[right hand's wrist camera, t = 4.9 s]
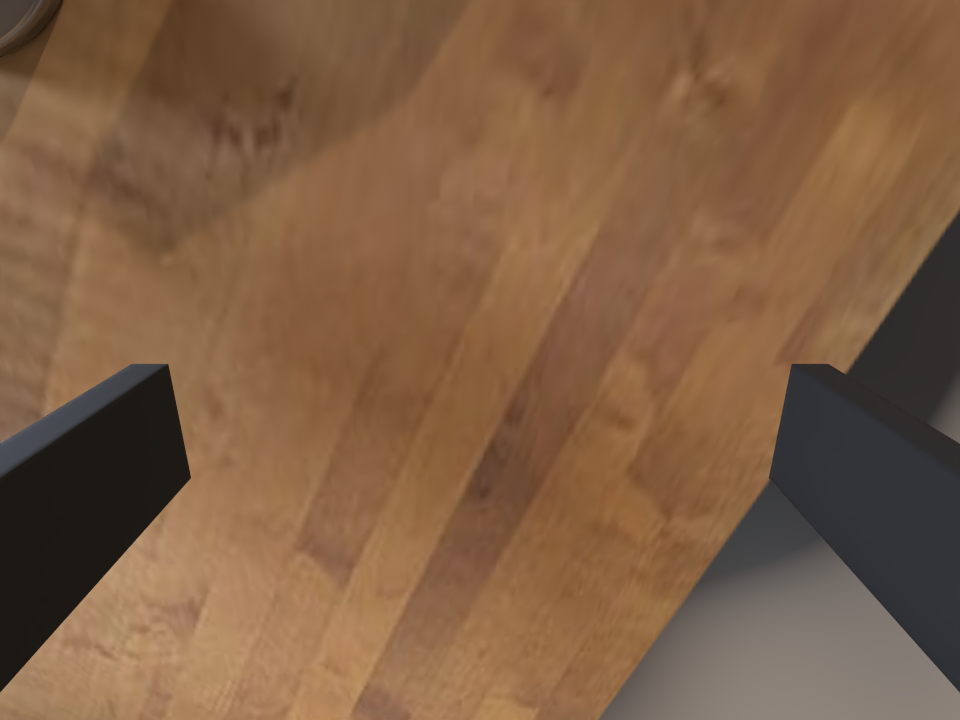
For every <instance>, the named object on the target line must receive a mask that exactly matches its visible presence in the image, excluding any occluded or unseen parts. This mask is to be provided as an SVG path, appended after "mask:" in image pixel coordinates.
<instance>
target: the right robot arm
mask: <svg viewBox="0 0 960 720" xmlns="http://www.w3.org/2000/svg"><path fill="white" fill-rule="evenodd" d="M60 1H61V0H0V56H2V55H5V54H7V53H10V52H12V51H14V50H16V49H18V48H20V47H22V46H23V45H25V44H26V43H27V42H29V41H30V40H32V39H33V38H34V37H35V36H36V35H37V34H38V33H39V32H40V31H41V30H42V29H43V28H44V27H45V26H46V24H47V23H48V22H49V21H50V19H51V18H52V16H53V14H54V13H55V11H56V10H57V8H58V6H59V3H60ZM190 478H191V476H190V471H189V466H188V461H187V456H186V451H185V446H184V441H183V436H182V431H181V426H180V421H179V416H178V411H177V406H176V401H175V396H174V391H173V386H172V381H171V376H170V371H169V366H168V364H131V365H129V366H128V367H126V368H124V369H123V370H121V371H120V372H118V373H116V374H115V375H113V376H111V377H110V378H108V379H106V380H105V381H103V382H101V383H100V384H98V385H96V386H95V387H93V388H91V389H90V390H88V391H87V392H85V393H83V394H82V395H80V396H78V397H77V398H75V399H73V400H72V401H70V402H68V403H67V404H65V405H63V406H62V407H60V408H58V409H57V410H55V411H54V412H52V413H50V414H49V415H47V416H45V417H44V418H42V419H40V420H39V421H37V422H35V423H34V424H32V425H30V426H29V427H27V428H26V429H24V430H22V431H21V432H19V433H17V434H16V435H14V436H12V437H11V438H9V439H7V440H6V441H4V442H2V443H1V444H0V692H1V691H2V690H3V689H4V687H5V686H6V685H7V684H8V683H9V682H10V681H11V680H12V678H13V677H14V676H15V675H16V674H17V673H18V672H19V671H20V669H21V668H22V667H23V666H24V665H25V664H26V663H27V662H28V660H29V659H30V658H31V657H32V656H33V655H34V654H35V653H36V652H37V650H38V649H39V648H40V647H41V646H42V645H43V644H44V643H45V641H46V640H47V639H48V638H49V637H50V636H51V635H52V634H53V632H54V631H55V630H56V629H57V628H58V627H59V626H60V625H61V623H62V622H63V621H64V620H65V619H66V618H67V617H68V616H69V614H70V613H71V612H72V611H73V610H74V609H75V608H76V607H77V605H78V604H79V603H80V602H81V601H82V600H83V599H84V598H85V596H86V595H87V594H88V593H89V592H90V591H91V590H92V589H93V587H94V586H95V585H96V584H97V583H98V582H99V581H100V580H101V578H102V577H103V576H104V575H105V574H106V573H107V572H108V571H109V569H110V568H111V567H112V566H113V565H114V564H115V563H116V562H117V560H118V559H119V558H120V557H121V556H122V555H123V554H124V553H125V551H126V550H127V549H128V548H129V547H130V546H131V545H132V544H133V542H134V541H135V540H136V539H137V538H138V537H139V536H140V535H141V533H142V532H143V531H144V530H145V529H146V528H147V527H148V526H149V524H150V523H151V522H152V521H153V520H154V519H155V518H156V517H157V515H158V514H159V513H160V512H161V511H162V510H163V509H164V508H165V506H166V505H167V504H168V503H169V502H170V501H171V500H172V499H173V497H174V496H175V495H176V494H177V493H178V492H179V491H180V490H181V488H182V487H183V486H184V485H185V484H186V483H187V482H188V481H189V479H190ZM769 478H770V479H771V481H772V482H773V483H774V484H775V485H776V486H777V487H778V488H779V490H780V491H781V492H782V493H783V494H784V495H785V496H786V497H787V499H788V500H789V501H790V502H791V503H792V504H793V505H794V506H795V508H796V509H797V510H798V511H799V512H800V513H801V514H802V515H803V517H804V518H805V519H806V520H807V521H808V522H809V523H810V524H811V525H812V527H813V528H814V529H815V530H816V531H817V532H818V533H819V535H820V536H821V537H822V538H823V539H824V540H825V541H826V542H827V544H828V545H829V546H830V547H831V548H832V549H833V550H834V551H835V553H836V554H837V555H838V556H839V557H840V558H841V559H842V560H843V562H844V563H845V564H846V565H847V566H848V567H849V568H850V569H851V570H852V572H853V573H854V574H855V575H856V576H857V577H858V578H859V580H860V581H861V582H862V583H863V584H864V585H865V586H866V587H867V589H868V590H869V591H870V592H871V593H872V594H873V595H874V596H875V598H876V599H877V600H878V601H879V602H880V603H881V604H882V605H883V607H884V608H885V609H886V610H887V611H888V612H889V613H890V614H891V616H892V617H893V618H894V619H895V620H896V621H897V622H898V623H899V625H900V626H901V627H902V628H903V629H904V630H905V631H906V632H907V634H908V635H909V636H910V637H911V638H912V639H913V640H914V641H915V642H916V644H917V645H918V646H919V647H920V648H921V649H922V650H923V651H924V653H925V654H926V655H927V656H928V657H929V658H930V659H931V660H932V662H933V663H934V664H935V665H936V666H937V667H938V668H939V669H940V671H941V672H942V673H943V674H944V675H945V676H946V677H947V678H948V679H949V681H950V682H951V683H952V684H953V685H954V686H955V687H956V689H957V690H958V691H959V692H960V444H959V443H958V442H956V441H954V440H953V439H951V438H949V437H948V436H946V435H944V434H943V433H941V432H939V431H938V430H936V429H934V428H933V427H931V426H930V425H928V424H926V423H925V422H923V421H921V420H920V419H918V418H916V417H915V416H913V415H911V414H910V413H908V412H906V411H905V410H903V409H901V408H900V407H898V406H897V405H895V404H893V403H892V402H890V401H888V400H887V399H885V398H883V397H882V396H880V395H878V394H877V393H875V392H873V391H872V390H870V389H868V388H867V387H865V386H864V385H862V384H860V383H859V382H857V381H855V380H854V379H852V378H850V377H849V376H847V375H845V374H844V373H842V372H840V371H839V370H837V369H836V368H834V367H832V366H831V365H829V364H792V366H791V371H790V376H789V381H788V386H787V391H786V396H785V401H784V406H783V411H782V416H781V421H780V426H779V431H778V436H777V441H776V446H775V451H774V456H773V461H772V466H771V471H770V476H769Z"/></svg>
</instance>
